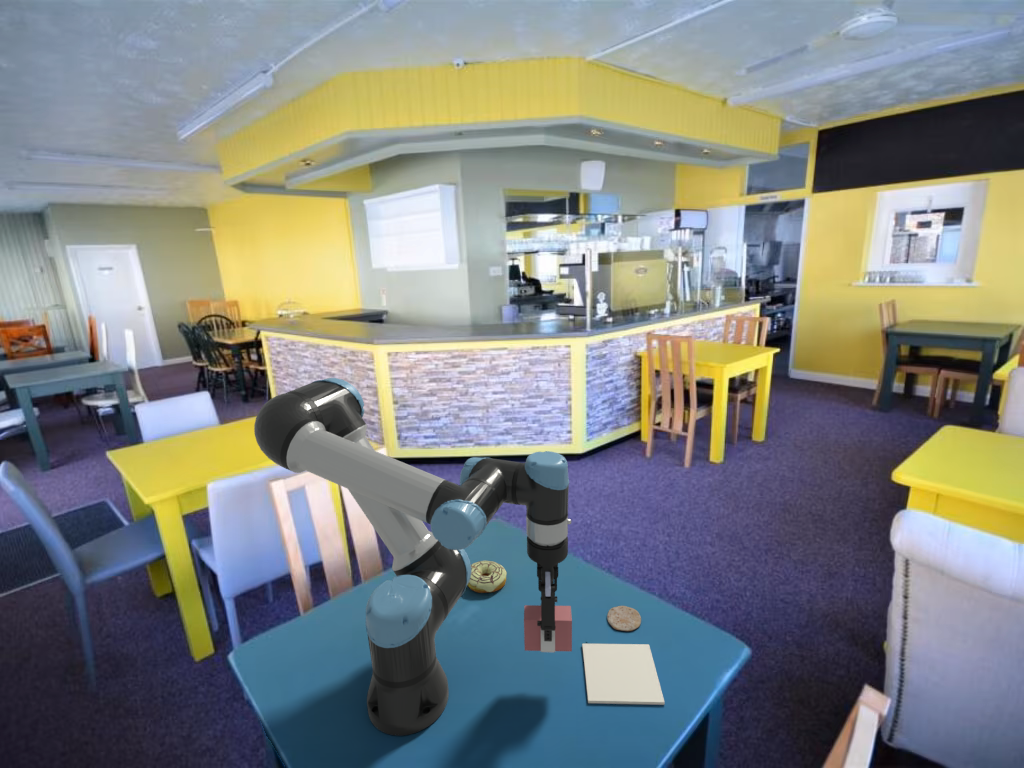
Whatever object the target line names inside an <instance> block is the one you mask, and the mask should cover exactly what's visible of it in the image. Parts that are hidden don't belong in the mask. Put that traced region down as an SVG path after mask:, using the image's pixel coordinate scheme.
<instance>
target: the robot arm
mask: <svg viewBox="0 0 1024 768" xmlns="http://www.w3.org/2000/svg"><path fill="white" fill-rule="evenodd" d="M364 402H365V401H364V400H363V396H362V394H361V393H360V391H359V390H357V388H356V387H355V386H354V385H352V384H351V383H350V382H348V381H346V380H345V379H340V378H337V377H329V378H323V379H320V380H319V379H318V380H315V381H312V382H310V383H307V384H305V385H303V386H301V387H298V388H295V389H292V390H289V391H287V392H284V393H281V394H280V393H279V395H275V396H273V397H272V398H270V399H269V400H268V401H266V402H265V403H264V404H263V405H262V406H261V408H260V409H259V411H258V413H257V415H256V417H255V421H254V426H253V427H254V429H253V430H254V437H255V440H256V443H257V445H258V446H259V449H260V451H261V452H262V453H263V454H264V455H265V456H266V457H267V458H268V459H269V460H270V461H272V462H273V463H275V464H276V465H277V466H279V467H281V468H284V469H286V470H288V471H290V472H293V473H296V474H299V473H303V472H308V473H310V474H313V475H315V476H317V477H320V478H322V479H324V480H327V481H329V482H332V483H334V484H336V485H338V486H341V487H343V488H345V489H347V490H348V492H349V493H350V495H351V496H352V498H353V499H354V500H355V502H356V504H357V505H358V507H359V508H360V510H361V511H362V513H363V514H364V515H365V517H366V518H367V520H368V521H369V523H370V524H371V526H372V527H373V529H374V530H375V532H376V534H377V535H378V536H379V538H380V539H381V540H382V542H383V544H384V545H385V547H386V548H387V549H388V551H389V553H390V554H391V555H392V556H393V560H392V567H391V570H392V571H393V572H394V574H395V575H396V576H394V577H392V580H389V579H387V580H385V581H384V582H382V583H380V584H379V585H378V586H377V587H376V588H375V589H374V590H373V591H372V593H371V594H370V596H369V597H368V600H367V603H366V607H365V631H366V634H367V640H368V647H369V652H370V659H371V660H370V661H371V667H372V675H371V679H370V682H369V683H370V684H369V687H368V690H367V695H366V705H367V707H366V708H367V712H368V713H367V714H368V717H369V720H370V721H371V723H372V725H373V726H374V727H375V728H376V729H377V730H378V731H381V732H382V733H384V734H387V735H390V736H409V735H413V734H416V733H419V732H422V730H424V729H426V728H428V727H430V726H431V725H432V724H433V723H435V722H436V721H437V720H438V719H439V718H440V717H441V715H442V713H443V712H444V711H445V708H446V707H447V704H448V701H449V697H450V696H449V694H450V693H449V683H448V677H447V675H446V672H445V671H444V668H443V667H442V665H441V663H440V661H439V659H438V658H437V657H438V656H437V652H436V651H437V650H436V642H435V639H436V634H437V632H438V631H439V629H440V627H441V626H442V624H443V623H444V622H445V620H446V619H447V617H448V615H449V614H450V613H451V611H452V610H453V608H455V606H456V604H457V602H458V601H459V600H460V599H461V598H462V596H463V595H464V593H465V592H466V588H467V587H468V583H469V581H470V578H471V565H472V564H471V560H470V558H469V555H468V553H467V552H466V550H465V549H467V548H469V547H470V546H471V545H472V544H473V543H474V542H475V540H478V538H479V537H480V536H481V535H482V534H483V532H484V530H485V529H486V527H487V525H488V524H489V522H490V521H491V520H492V518H493V517H494V515H495V514H497V512H498V511H499V510H500V508H501V506H502V505H504V504H510V505H517V506H518V505H519V506H525V508H526V514H525V516H526V517H525V518H526V519H525V521H526V522H525V523H526V527H525V528H526V552H527V556H528V557H529V559H530V560H531V561H533V562H534V563H535V564H536V577H537V579H538V581H537V582H538V591H539V592H540V602H541V603H540V606H541V621H537V626H541V651H540V653H556V651H555V629H556V626H555V606H556V603H558V596H557V595H556V592H557V590H558V578H559V564H560V563H562V562H563V561H565V560H566V558H567V557H568V554H569V537H568V535H569V534H568V532H569V530H568V529H569V527H568V525H571V524H572V519H571V518H569V492H570V491H569V490H570V489H569V488H570V487H569V486H570V480H569V468H568V467H569V465H568V464H569V463H568V461H567V459H566V457H565V456H564V455H562V454H560V453H558V452H554V451H548V450H547V451H546V450H545V451H536V452H533V453H531V454H529V455H528V456H527V458H526V459H525V462H519V461H511V460H505V459H497V458H491V457H476V456H473V457H470V458H468V459H466V461H465V462H464V464H463V468H462V469H461V471H460V475H459V484H457V483H455V482H453V481H449V480H447V479H444V478H442V477H440V476H437V475H435V474H432V473H430V472H427V471H425V470H423V469H421V468H418V467H415V466H413V465H410V464H408V463H405V462H403V461H400V460H398V459H395V458H393V457H391V456H388V455H386V454H384V453H381V452H378V451H376V450H375V449H374V447H373V446H372V444H371V443H370V441H369V439H368V438H367V437H366V435H367V434H366V433H367V428H368V424H367V423H366V422H365V420H364V417H363V416H364V415H365V408H364V406H365V403H364ZM424 522H425V523H426V524H429V525H430V530H431V531H430V530H429V529H428V528H427V526H426V525H425V523H424Z"/></svg>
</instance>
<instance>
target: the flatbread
mask: <svg viewBox="0 0 1024 768" xmlns="http://www.w3.org/2000/svg"><path fill="white" fill-rule="evenodd" d="M606 617H607V618H606V620H607V622H608V624H609V625H610V626H611V627H612V628H613V629H614V630H616V631H620V632H621V631H622V632H633V631H634V630H637V629H638V628H639V627H640V626H641V623H642V617H641V615H640V613H639V611H638V610H637V609H635V608H633V607H630V606H626V605H619V606H613V607H611V608H610V609H609V610H608V612H607V616H606Z"/></svg>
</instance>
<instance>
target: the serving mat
mask: <svg viewBox="0 0 1024 768" xmlns="http://www.w3.org/2000/svg"><path fill="white" fill-rule="evenodd" d="M581 645H582V656H583V662H584V663H583V664H584V674H585V685H586V694H587V695H586V697H587V703H588V704H607V705H610V704H613V705H615V704H616V705H657V706H658V705H659V706H660V705H661V706H665V698H664V695H663V692H662V687H661V683H660V680H659V677H658V676H659V675H658V673H657V669H656V665H655V661H654V658H653V654H652V650H651V647H650V644H648V643H647V644H643V643H642V644H641V643H640V644H638V643H635V644H633V643H582V644H581Z"/></svg>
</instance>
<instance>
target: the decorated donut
mask: <svg viewBox="0 0 1024 768" xmlns="http://www.w3.org/2000/svg"><path fill="white" fill-rule="evenodd" d="M506 582H507V571H506V569H505V567H504V566H503V565H501V564H500V563H498V562H496V561H491V560H479V561H477V562H473V563H472V564H471V578H470V581H469V583H468V585H467V587H468V588H469V589H470V590H471V591H474V592H475V593H479V594H486V593H487V594H488V593H496V592H497V591H499V590H501V589H503V587H505V585H506Z"/></svg>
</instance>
